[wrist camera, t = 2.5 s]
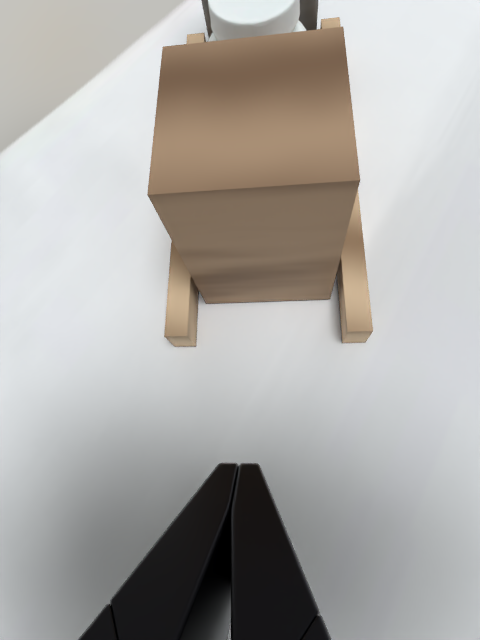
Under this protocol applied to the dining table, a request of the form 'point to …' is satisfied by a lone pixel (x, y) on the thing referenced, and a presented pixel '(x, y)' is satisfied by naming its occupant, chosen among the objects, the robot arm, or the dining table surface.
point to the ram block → (256, 163)
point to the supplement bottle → (253, 18)
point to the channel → (349, 269)
